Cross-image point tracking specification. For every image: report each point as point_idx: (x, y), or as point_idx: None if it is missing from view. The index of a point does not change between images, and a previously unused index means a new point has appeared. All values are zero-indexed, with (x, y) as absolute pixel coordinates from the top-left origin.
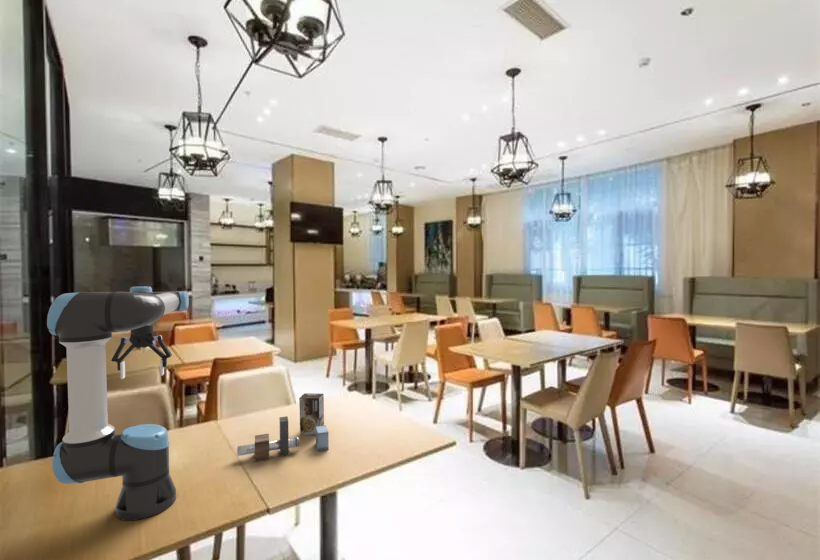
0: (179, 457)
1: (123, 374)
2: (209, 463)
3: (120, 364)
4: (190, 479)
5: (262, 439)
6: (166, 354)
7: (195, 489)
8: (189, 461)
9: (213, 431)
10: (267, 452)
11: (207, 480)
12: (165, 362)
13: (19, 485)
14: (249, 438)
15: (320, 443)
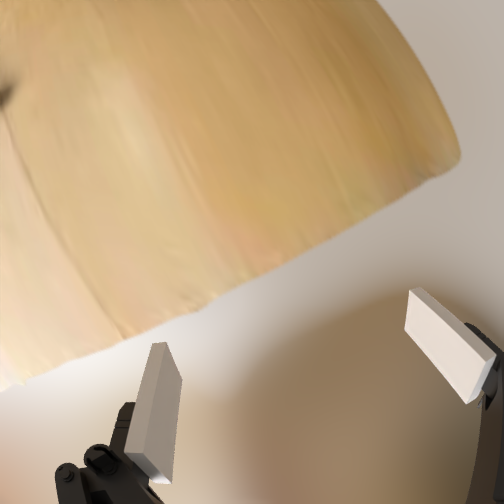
0: (115, 119)
1: (423, 318)
2: (46, 92)
3: (486, 347)
4: (67, 30)
5: None
6: (78, 494)
7: (55, 6)
8: (85, 98)
9: (99, 275)
10: None
11: (40, 32)
12: (115, 434)
13: (409, 66)
14: (11, 218)
15: None
